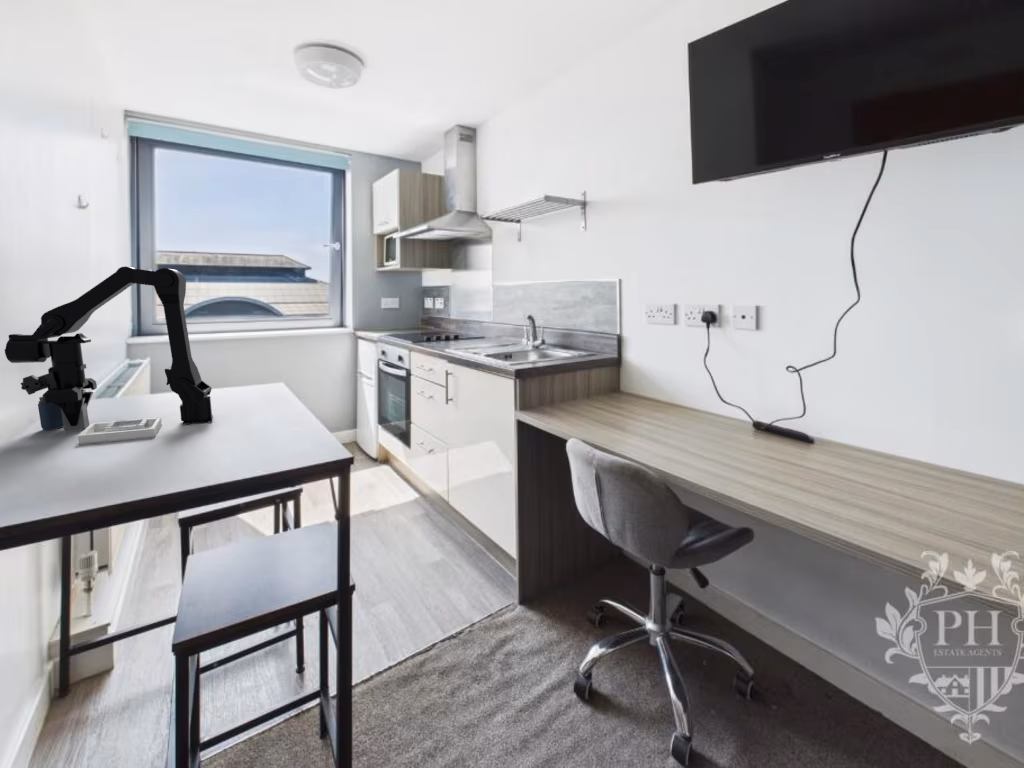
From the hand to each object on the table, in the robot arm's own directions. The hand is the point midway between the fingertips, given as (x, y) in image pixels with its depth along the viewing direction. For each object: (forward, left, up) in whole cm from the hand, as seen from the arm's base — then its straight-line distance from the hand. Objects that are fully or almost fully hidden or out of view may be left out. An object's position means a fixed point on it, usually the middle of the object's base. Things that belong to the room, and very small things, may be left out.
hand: (76, 423), depth 123 cm
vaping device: (+5, -3, -1) cm, 6 cm away
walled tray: (-11, +11, -1) cm, 16 cm away
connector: (0, 0, -1) cm, 1 cm away
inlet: (-12, +11, -1) cm, 16 cm away
